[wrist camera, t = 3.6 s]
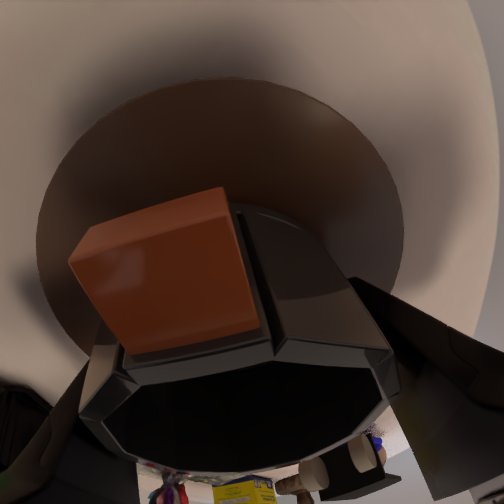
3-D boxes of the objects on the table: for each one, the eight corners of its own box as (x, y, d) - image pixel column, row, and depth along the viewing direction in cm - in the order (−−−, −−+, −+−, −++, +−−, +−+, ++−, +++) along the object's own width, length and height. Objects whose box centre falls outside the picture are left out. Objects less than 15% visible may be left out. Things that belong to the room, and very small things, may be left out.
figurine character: (281, 429, 21) (341, 458, 27) (296, 503, 15) (355, 505, 21) (349, 396, 20) (388, 434, 26) (379, 472, 13) (408, 482, 19)
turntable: (374, 337, 14) (384, 353, 13) (142, 394, 13) (141, 413, 12) (378, 59, 7) (399, 58, 6) (0, 170, 6) (-20, 181, 5)
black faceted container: (333, 341, 11) (376, 436, 7) (167, 381, 10) (169, 482, 7) (318, 118, 6) (459, 170, 2) (56, 196, 6) (-45, 308, 2)
